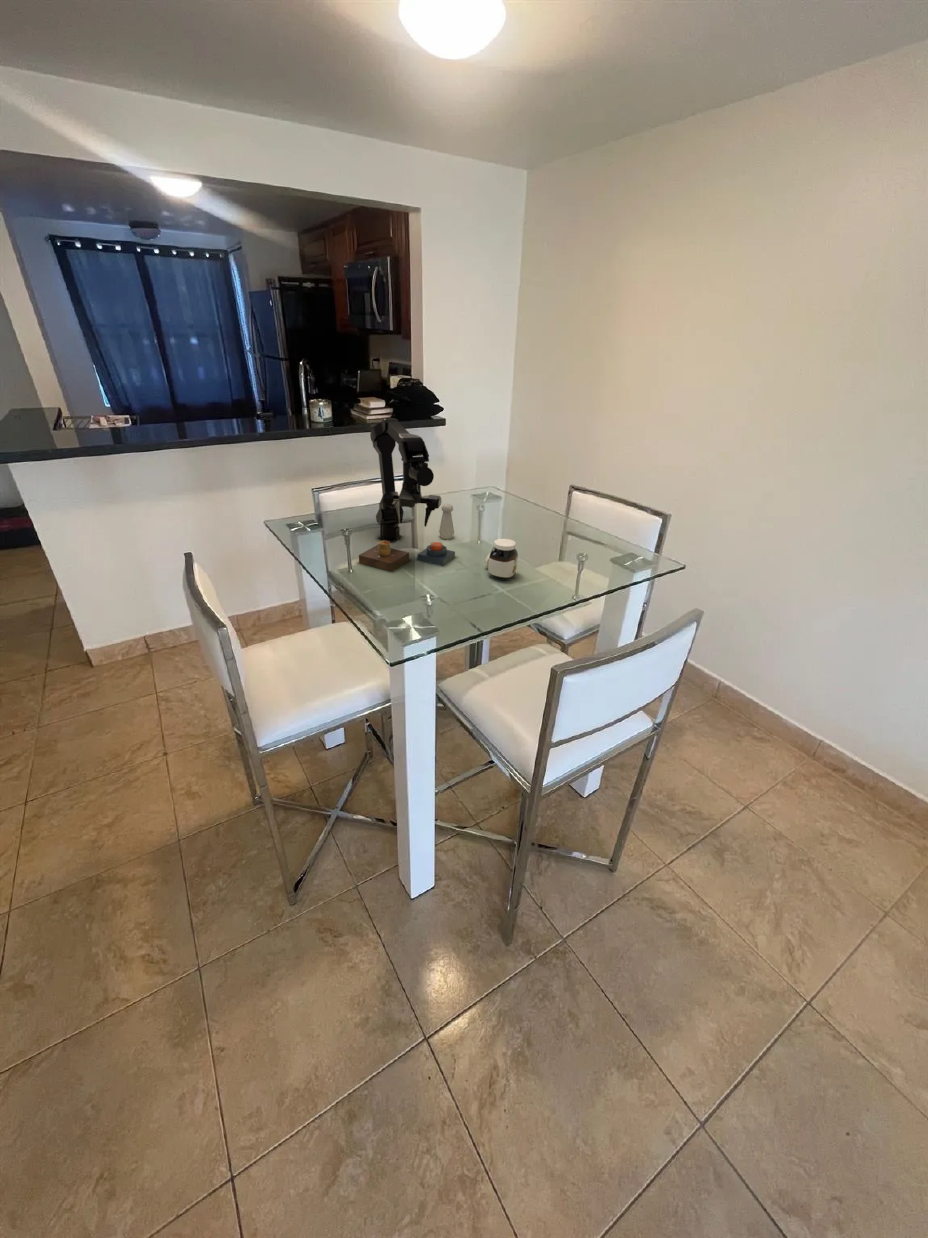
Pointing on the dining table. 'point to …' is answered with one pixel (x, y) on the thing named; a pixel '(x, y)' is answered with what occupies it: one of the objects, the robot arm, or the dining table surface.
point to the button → (436, 546)
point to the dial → (384, 548)
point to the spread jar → (502, 559)
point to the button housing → (436, 555)
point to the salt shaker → (446, 522)
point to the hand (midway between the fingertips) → (412, 524)
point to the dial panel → (384, 559)
